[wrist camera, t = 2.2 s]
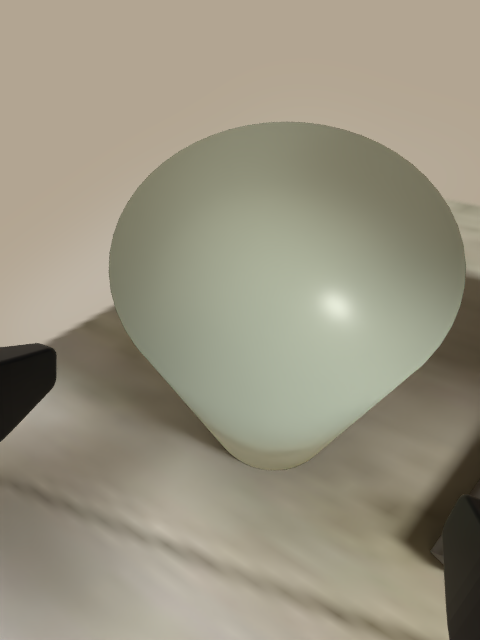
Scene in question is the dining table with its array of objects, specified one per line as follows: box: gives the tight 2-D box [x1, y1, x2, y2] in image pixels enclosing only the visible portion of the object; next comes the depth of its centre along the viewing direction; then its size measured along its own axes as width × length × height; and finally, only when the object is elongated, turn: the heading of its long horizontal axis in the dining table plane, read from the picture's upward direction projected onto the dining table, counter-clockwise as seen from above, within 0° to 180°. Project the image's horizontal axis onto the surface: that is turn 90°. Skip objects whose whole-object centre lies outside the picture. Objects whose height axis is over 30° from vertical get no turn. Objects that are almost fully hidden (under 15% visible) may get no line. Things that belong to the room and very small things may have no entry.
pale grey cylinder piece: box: [109, 122, 466, 470], centre depth 13 cm, size 6×6×13 cm
